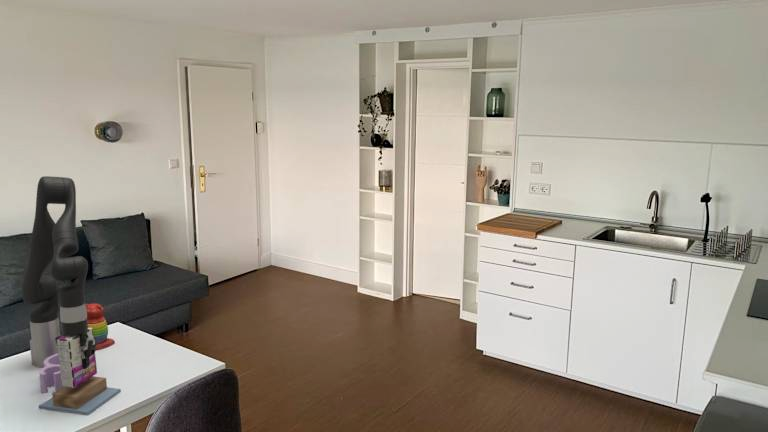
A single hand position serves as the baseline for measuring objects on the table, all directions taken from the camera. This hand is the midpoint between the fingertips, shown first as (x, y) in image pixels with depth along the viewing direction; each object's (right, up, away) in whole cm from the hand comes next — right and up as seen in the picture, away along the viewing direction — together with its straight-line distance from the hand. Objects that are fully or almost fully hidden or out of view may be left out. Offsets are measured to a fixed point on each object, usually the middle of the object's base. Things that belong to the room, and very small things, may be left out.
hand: (78, 367), depth 193 cm
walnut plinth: (0, -10, +2) cm, 11 cm away
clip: (-14, -9, +16) cm, 23 cm away
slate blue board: (0, -11, +2) cm, 12 cm away
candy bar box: (0, -5, +1) cm, 5 cm away
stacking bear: (-16, -3, +46) cm, 48 cm away
